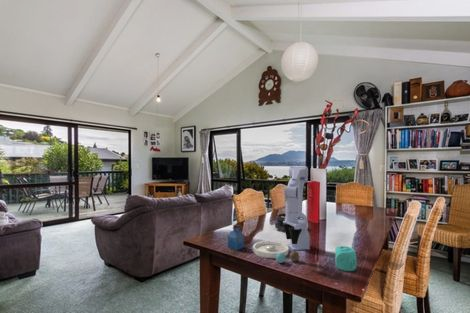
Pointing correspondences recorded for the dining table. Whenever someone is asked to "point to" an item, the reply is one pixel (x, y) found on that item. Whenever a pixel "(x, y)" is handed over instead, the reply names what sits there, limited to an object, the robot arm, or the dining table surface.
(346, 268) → the decorative dice
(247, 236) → the dining table surface
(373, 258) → the dining table surface
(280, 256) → the teal bead
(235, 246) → the perfume bottle
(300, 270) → the dining table surface
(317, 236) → the dining table surface
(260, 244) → the tray
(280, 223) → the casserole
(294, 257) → the walnut bead
